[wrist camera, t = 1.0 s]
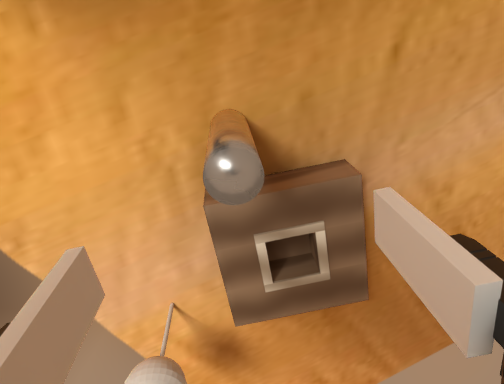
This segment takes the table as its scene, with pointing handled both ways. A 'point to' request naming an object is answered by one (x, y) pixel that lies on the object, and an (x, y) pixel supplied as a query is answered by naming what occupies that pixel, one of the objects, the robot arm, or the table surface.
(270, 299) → the bore block
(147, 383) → the lollipop
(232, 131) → the pin
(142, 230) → the table surface
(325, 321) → the table surface
